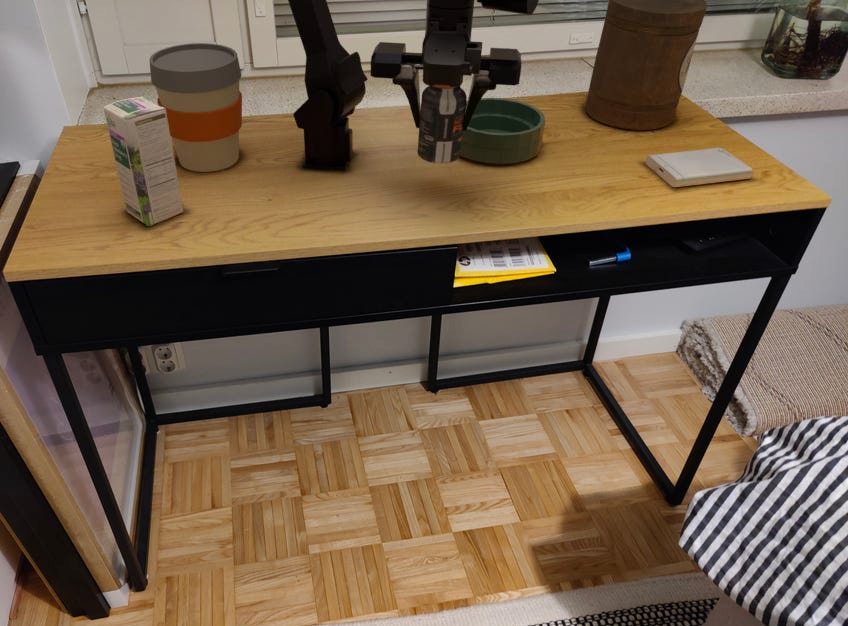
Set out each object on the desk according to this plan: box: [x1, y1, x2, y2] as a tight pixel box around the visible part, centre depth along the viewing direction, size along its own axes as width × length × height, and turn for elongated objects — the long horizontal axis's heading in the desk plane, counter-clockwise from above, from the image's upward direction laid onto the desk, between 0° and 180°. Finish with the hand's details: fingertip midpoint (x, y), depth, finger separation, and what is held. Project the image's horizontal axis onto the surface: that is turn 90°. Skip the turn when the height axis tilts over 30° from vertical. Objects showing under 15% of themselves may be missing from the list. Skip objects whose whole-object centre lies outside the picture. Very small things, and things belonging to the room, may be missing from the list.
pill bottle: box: [417, 84, 468, 165], centre depth 94 cm, size 6×6×11 cm
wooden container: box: [584, 0, 708, 131], centre depth 115 cm, size 15×15×22 cm
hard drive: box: [644, 147, 754, 188], centre depth 105 cm, size 2×8×12 cm
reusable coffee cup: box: [149, 42, 243, 173], centre depth 103 cm, size 13×13×15 cm
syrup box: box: [102, 96, 184, 227], centre depth 91 cm, size 6×6×14 cm
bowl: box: [460, 97, 546, 165], centre depth 110 cm, size 14×14×5 cm
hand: (440, 128), depth 95 cm, fingers closed on pill bottle, 6 cm apart
